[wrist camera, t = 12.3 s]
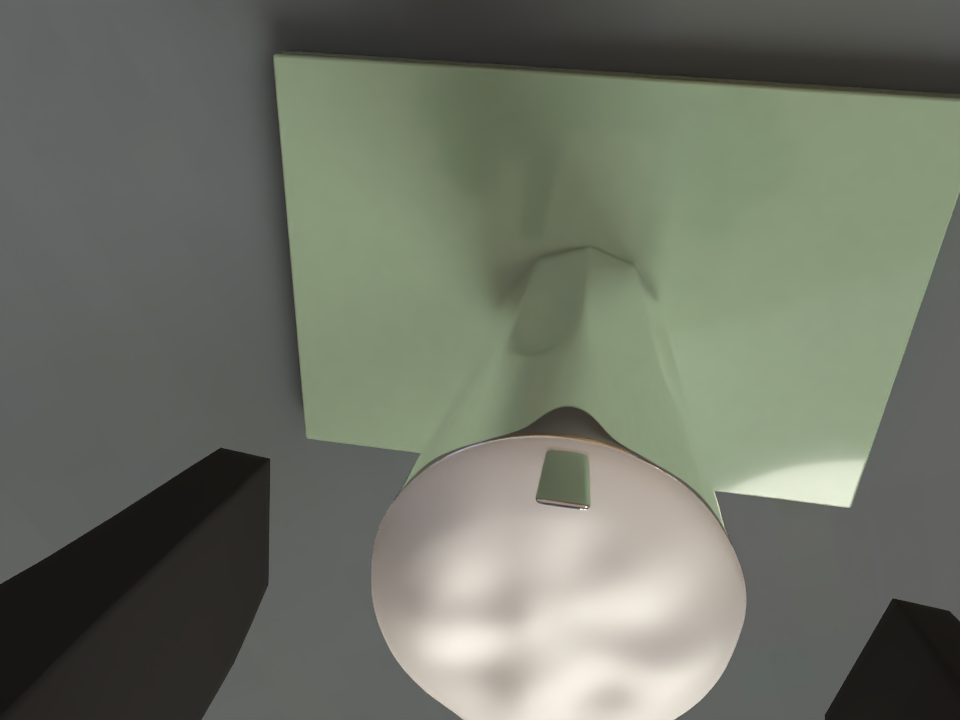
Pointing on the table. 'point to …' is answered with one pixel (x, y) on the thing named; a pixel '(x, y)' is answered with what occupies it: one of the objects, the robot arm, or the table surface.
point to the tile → (616, 241)
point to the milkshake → (563, 518)
